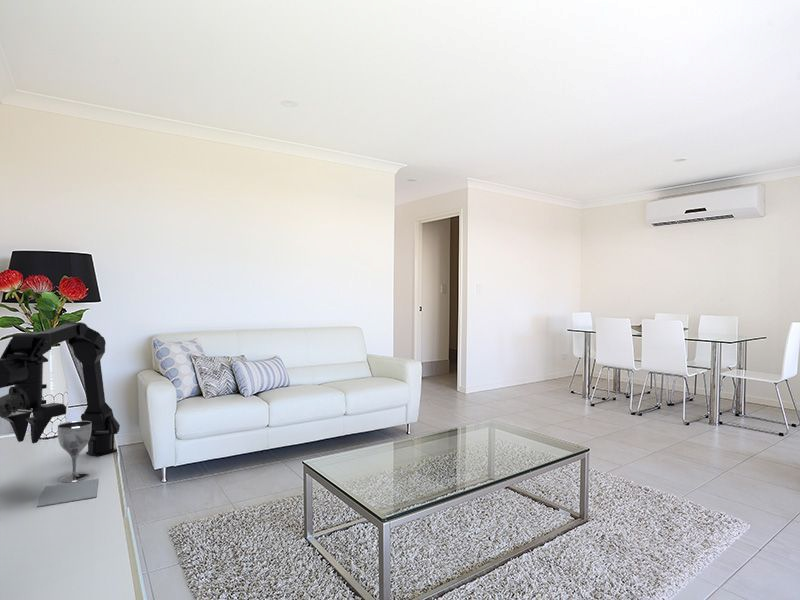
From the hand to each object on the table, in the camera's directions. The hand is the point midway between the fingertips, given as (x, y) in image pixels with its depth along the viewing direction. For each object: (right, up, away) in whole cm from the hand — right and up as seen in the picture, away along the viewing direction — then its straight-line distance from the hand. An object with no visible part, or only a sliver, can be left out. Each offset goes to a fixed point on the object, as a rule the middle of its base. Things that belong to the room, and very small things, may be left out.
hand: (27, 442), depth 123 cm
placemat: (+11, -13, 0) cm, 17 cm away
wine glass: (+5, -13, +11) cm, 18 cm away
